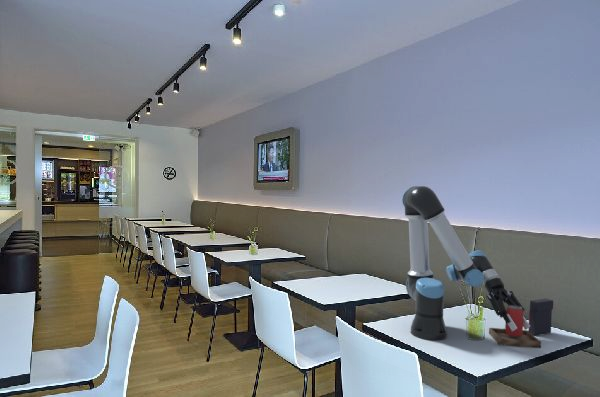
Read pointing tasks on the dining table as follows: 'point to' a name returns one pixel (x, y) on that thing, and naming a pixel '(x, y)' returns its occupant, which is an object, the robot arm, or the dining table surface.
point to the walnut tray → (514, 338)
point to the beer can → (515, 320)
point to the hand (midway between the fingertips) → (521, 328)
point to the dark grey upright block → (540, 316)
